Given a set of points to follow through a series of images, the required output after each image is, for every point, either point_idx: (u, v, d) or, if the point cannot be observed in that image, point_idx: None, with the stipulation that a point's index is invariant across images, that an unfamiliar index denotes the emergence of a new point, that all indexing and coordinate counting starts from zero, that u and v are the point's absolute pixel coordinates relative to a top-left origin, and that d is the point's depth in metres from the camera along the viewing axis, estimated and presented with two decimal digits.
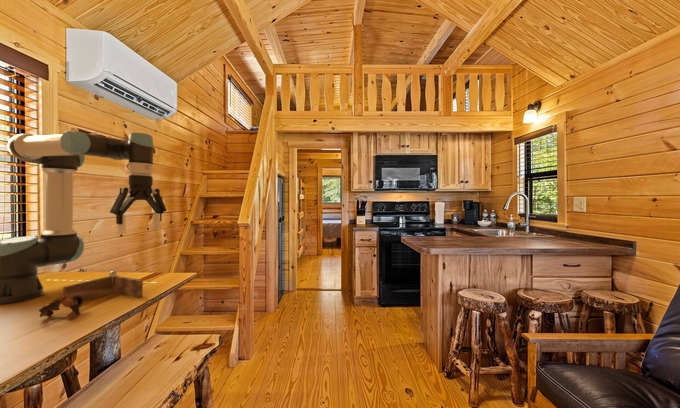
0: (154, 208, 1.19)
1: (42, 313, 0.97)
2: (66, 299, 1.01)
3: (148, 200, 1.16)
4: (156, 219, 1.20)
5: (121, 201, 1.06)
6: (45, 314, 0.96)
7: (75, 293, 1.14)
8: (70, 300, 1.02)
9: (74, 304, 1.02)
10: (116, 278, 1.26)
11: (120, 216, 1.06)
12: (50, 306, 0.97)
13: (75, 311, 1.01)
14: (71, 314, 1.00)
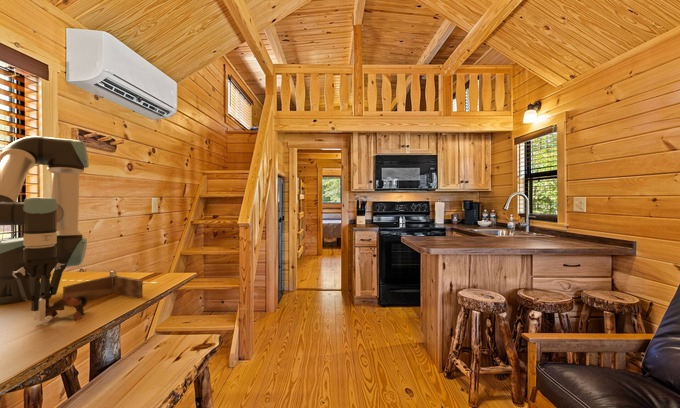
0: (42, 289, 0.97)
1: (47, 313, 0.96)
2: (71, 299, 1.01)
3: (43, 276, 0.96)
4: None
5: (25, 287, 0.92)
6: (50, 314, 0.96)
7: (75, 293, 1.14)
8: (75, 300, 1.02)
9: (79, 304, 1.02)
10: (116, 278, 1.26)
11: (35, 302, 0.94)
12: (55, 306, 0.97)
13: (80, 311, 1.01)
14: (76, 314, 1.00)
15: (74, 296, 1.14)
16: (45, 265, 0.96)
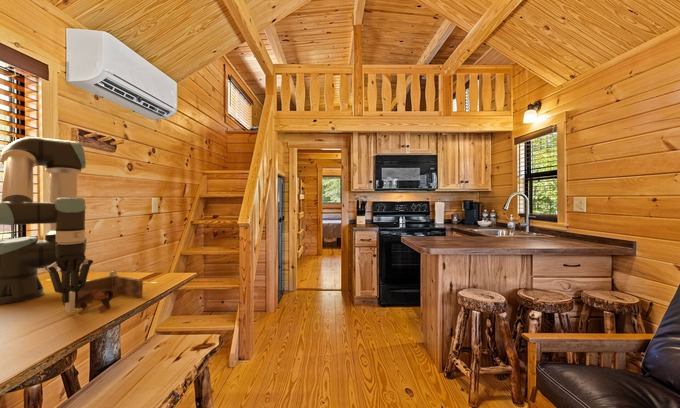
0: (72, 283, 1.04)
1: (76, 305, 1.04)
2: (97, 293, 1.08)
3: (72, 271, 1.04)
4: None
5: (57, 280, 0.99)
6: (78, 306, 1.03)
7: None
8: (101, 294, 1.08)
9: (104, 298, 1.09)
10: (116, 278, 1.26)
11: (66, 294, 1.02)
12: (83, 299, 1.04)
13: (105, 304, 1.08)
14: (101, 307, 1.06)
15: None
16: (75, 260, 1.04)
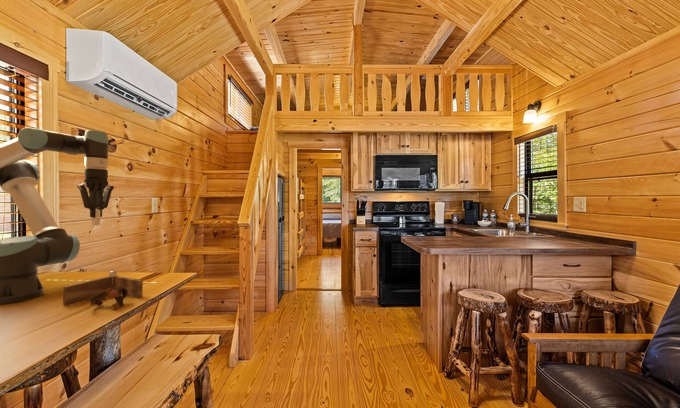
0: (97, 202, 1.27)
1: (91, 302, 1.07)
2: (112, 291, 1.11)
3: (98, 192, 1.26)
4: None
5: (86, 197, 1.21)
6: (93, 303, 1.06)
7: (75, 293, 1.14)
8: (115, 292, 1.11)
9: (118, 296, 1.11)
10: (116, 278, 1.26)
11: (93, 210, 1.24)
12: (98, 296, 1.07)
13: (119, 302, 1.11)
14: (115, 305, 1.09)
15: (74, 296, 1.14)
16: (100, 183, 1.26)
